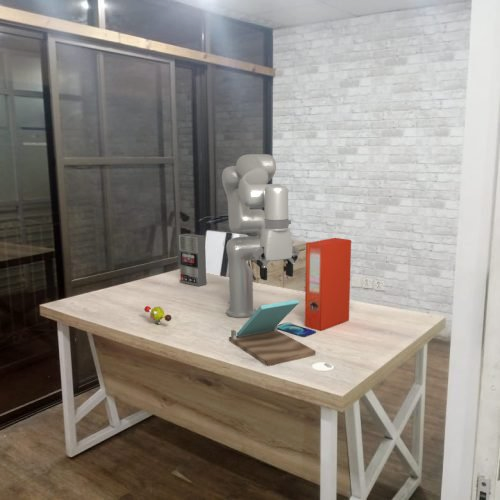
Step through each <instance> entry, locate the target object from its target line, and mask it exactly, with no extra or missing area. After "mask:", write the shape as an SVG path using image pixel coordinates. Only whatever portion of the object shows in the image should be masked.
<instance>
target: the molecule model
mask: <svg viewBox="0 0 500 500" xmlns="http://www.w3.org/2000/svg"><path fill="white" fill-rule="evenodd" d="M144 312H145V313H149V314H150V316H149V317H150V318H151V319H152V320H154V321H155V322H154V324H155V325H157V326H158V325H161V320H162V319H163V318H164V320H165V321H166V322H170V321H171V320H172V315H170V314H166V315H165V310H164V309H163V308H162V307H160V306H154V307H150V306H148V305H147V306H145V307H144Z"/></svg>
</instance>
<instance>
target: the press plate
mask: <svg viewBox="0 0 500 500" xmlns="http://www.w3.org/2000/svg"><path fill="white" fill-rule="evenodd" d="M299 304H300V302H299V300H298V299H293V300H287V301H281V302H275V303H270V304H264V305H263V304H262V305H260V306H259V307H258V308H256V310H257V311H256V312H255V313H254V314H253V315H252V316H250V318H248V320H247V321H246V322H245V323H244V325H243V326H242V327H241V328H240V329H239V331H237V332H236V336H237V335H238V337H242V336H247V335H252V334H258V333H263V332H268V331H271V330H273V329H274V328H275V327H276V326H277V325H280V323H281V322H282V321H283V320H284V319H285V318H286V317H287V316H288V315H289V314H290V313H291V312H292V310H294V308H296V307H297V306H298V305H299Z"/></svg>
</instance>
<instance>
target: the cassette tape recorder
mask: <svg viewBox="0 0 500 500" xmlns="http://www.w3.org/2000/svg"><path fill="white" fill-rule="evenodd" d="M178 244H179V245H178V247H179V273H180V274H179V276H180V279H179V283H181V284H187V285H191V286H196V287H201V286H204V285H205V286H206V285H207V284H208V282H207V266H206V265H207V264H206V262H207V260H206V257H207V256H206V254H207V253H206V235H204V234H202V235H201V234H195V233H181V234H178Z"/></svg>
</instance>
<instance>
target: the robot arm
mask: <svg viewBox="0 0 500 500" xmlns="http://www.w3.org/2000/svg"><path fill="white" fill-rule="evenodd" d="M276 170H277V163H276V159H275V158H274V157H273V155H271V154H269V153H268V154H265V153H256V154H255V153H250V154H243V155H241V156H240V157H238V159H237V160H236V164H235V165H231V166H227V167H225V168H224V169H223V171H222V173H221V182H222V187H223V190H224V194H225V195H226V198H227V199H226V200H227V212H228V213H227V214H228V226H229V227H228V228H229V230H230V232H231V233H233V234H241V235H242V234H256V236H253V235H252V236H239V237H238V236H237V237H236V236H235V237H232V238H230V239H229V240H227V243H226V254H227V255H226V256H227V262H228V276H229V277H228V279H229V280H228V281H229V283H228V284H229V287H228V288H229V300H228V304H229V308H227V309H226V310H225V312H226V316H229V317H233V318H249V317H250V318H251V316H252V315H253V314H254V313H255V312H256V311H257V308H255V307H254V288H253V286H254V284H253V283H254V281H253V280H254V279H253V278H254V275H253V273H254V272H253V269H252V268H251V266H250V265H249V264H248V263H247V261H254V263H255V264H256V265H257V267H259V277H260V280H263V281H267V280H268V267H267V265H268V264H269V262H277V261H286V263H285V275H286V276H288V277H290V278H293V277H294V265H295V263H296V261H297V260H298V258H299V255H300V253H301V249H299V248H297V247H295V246H293V239H292V232H291V229H290V228H289V225H291V224H292V221H291V220H289V189H288V187H287V186H285V185H282V184H279V183H269V182H270V181H271V180H272V179H273V177H274V176H275V174H276ZM250 208H252V209H250ZM255 208H257V209H255ZM258 208H264V210H263V209H258Z"/></svg>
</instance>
